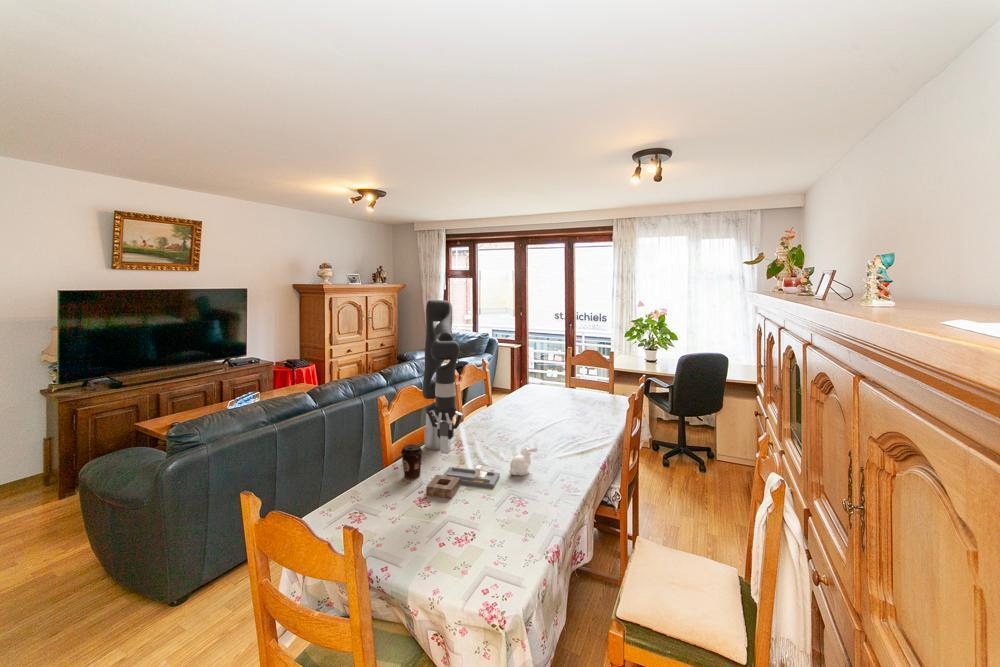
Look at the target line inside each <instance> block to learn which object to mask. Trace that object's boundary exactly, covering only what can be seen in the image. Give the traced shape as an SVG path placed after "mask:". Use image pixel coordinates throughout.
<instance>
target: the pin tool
mask: <svg viewBox="0 0 1000 667" xmlns="http://www.w3.org/2000/svg"><path fill="white" fill-rule="evenodd" d="M451 440H452V439H449V424H448V423H447V421H445V420H443V421H442V422H441V423H440V449H439V450H440V454H441V455H444V454H445V455H449V454H450V453H451V450H452V449H451V448H452V447H451V445H452V441H451Z"/></svg>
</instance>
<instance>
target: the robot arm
mask: <svg viewBox="0 0 1000 667" xmlns="http://www.w3.org/2000/svg"><path fill="white" fill-rule="evenodd" d="M435 322H438V323H437V324H436V325H435V324H434V323H435ZM452 326H453V305H452V303H451V301H449V300H446V299H445V300H442V299H429V300H428V301H427V302H426V306H425V329H426V331H425V332H426V334H425V343H424V344H425V346H424V371H423V372H424V373H423V378H422V379H423V380H422V396H423V398H424V399H426V400H434V402H432V403H430V404H428V405H427V406H426V407H425V423H426V424H425V427H424V429H423V430H424V448H425V449H428V450H433V451H438V450H440V423H441V422H442V421H443V420H445V421H447V423H448V424H449V439H451V440H452V439H453V437H454V432H455V431H454V430H456V429H458V428H459V426H460V424H461V422H462V419H463V416H464V413H463V412H459V411H457V409H456V403H457V402H456V393H457V391H456V382H455V381H456V380H455V379H456V366H457V362H458V359H459V355H460V351H461V348H460V344H459V343H458V342H457V341H455V340H454V336H453V329H452V328H453V327H452ZM445 361H448V363H446V364H444V365H443V363H444V362H445ZM434 375H435V378H434V379H433V376H434ZM454 418H456V420H455V422H454Z"/></svg>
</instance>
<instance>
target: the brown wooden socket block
mask: <svg viewBox="0 0 1000 667" xmlns="http://www.w3.org/2000/svg"><path fill="white" fill-rule="evenodd" d="M460 487H461V484H460V478H459V477H451V476H443V474H441V475H440V474H436V475H434V477H433V478H432V479H431V480H430V482H428V484H427V485H426V487H425V489H426V490H425V491H426V492H425V493H426V496H429V497H437V498H443V499H449V500H450V499H451V500H452V499H453V498H454V496H455V494H456V493H457V492H458V490H459V489H460Z"/></svg>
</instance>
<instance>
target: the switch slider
mask: <svg viewBox="0 0 1000 667" xmlns="http://www.w3.org/2000/svg"><path fill="white" fill-rule="evenodd" d="M474 469H475V477H480V478H486V476H487V472H483V471H484V470H483V464H477V465H476V467H474ZM482 470H483V471H482Z"/></svg>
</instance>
